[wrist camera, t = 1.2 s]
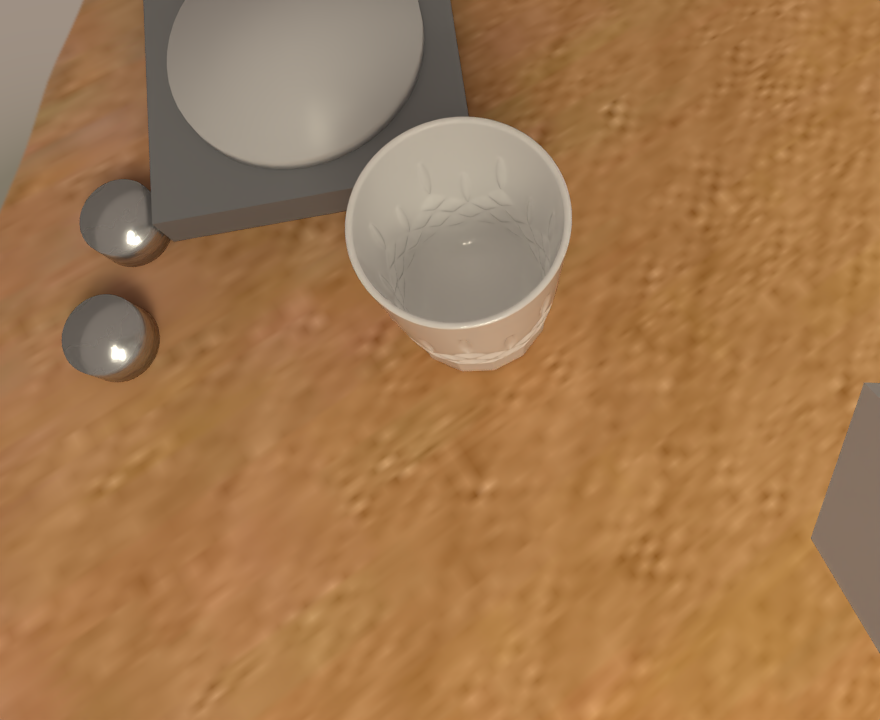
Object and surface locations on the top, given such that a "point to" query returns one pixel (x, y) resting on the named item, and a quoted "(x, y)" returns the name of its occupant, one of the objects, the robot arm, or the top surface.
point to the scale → (285, 102)
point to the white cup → (462, 238)
